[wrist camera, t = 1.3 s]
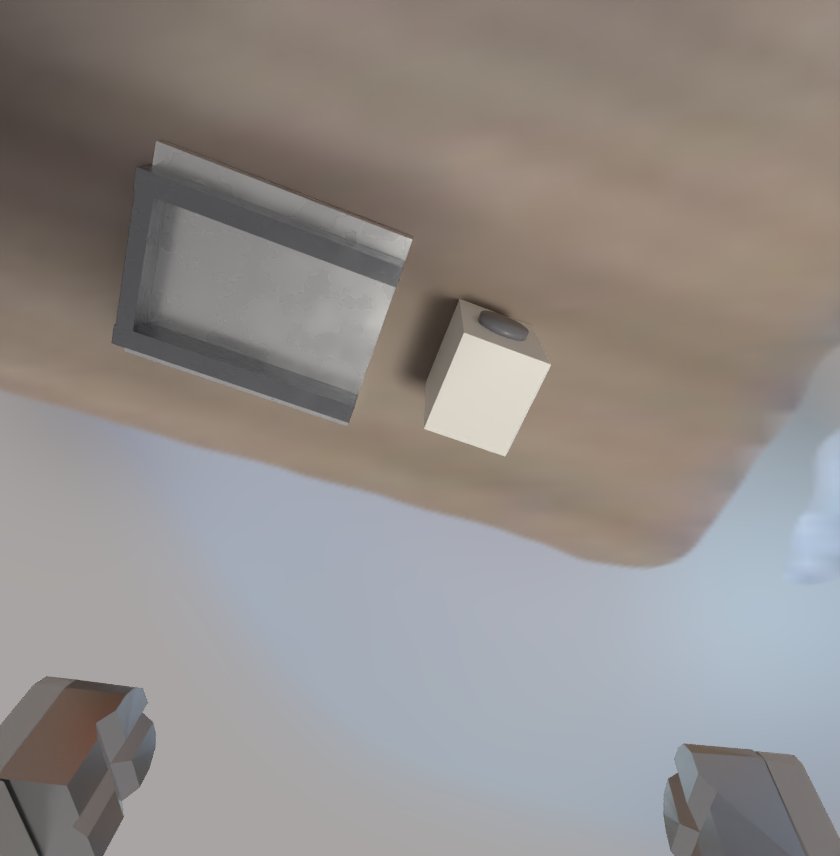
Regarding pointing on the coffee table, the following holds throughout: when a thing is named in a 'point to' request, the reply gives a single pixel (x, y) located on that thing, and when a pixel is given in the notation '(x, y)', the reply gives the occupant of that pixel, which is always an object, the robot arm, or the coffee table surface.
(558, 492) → the coffee table surface
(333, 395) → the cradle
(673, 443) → the coffee table surface
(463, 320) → the cream rectangular block
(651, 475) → the coffee table surface
